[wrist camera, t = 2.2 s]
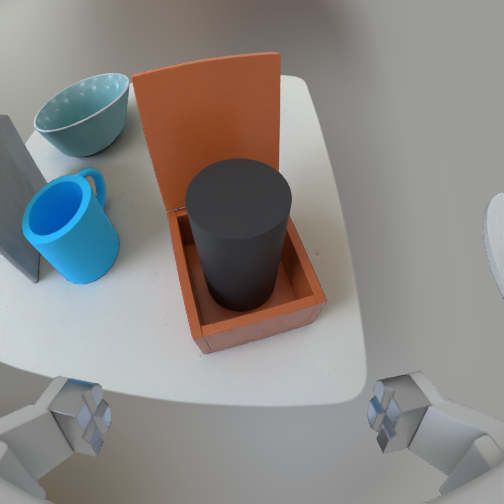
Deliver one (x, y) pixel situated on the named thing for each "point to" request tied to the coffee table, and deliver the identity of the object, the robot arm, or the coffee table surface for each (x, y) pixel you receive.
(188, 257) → the orange open box
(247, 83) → the orange box lid
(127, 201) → the coffee table surface
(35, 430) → the robot arm
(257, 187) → the tapered grey cylinder
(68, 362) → the coffee table surface
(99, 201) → the mug
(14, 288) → the coffee table surface
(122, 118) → the bowl
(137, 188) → the coffee table surface
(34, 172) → the planter
